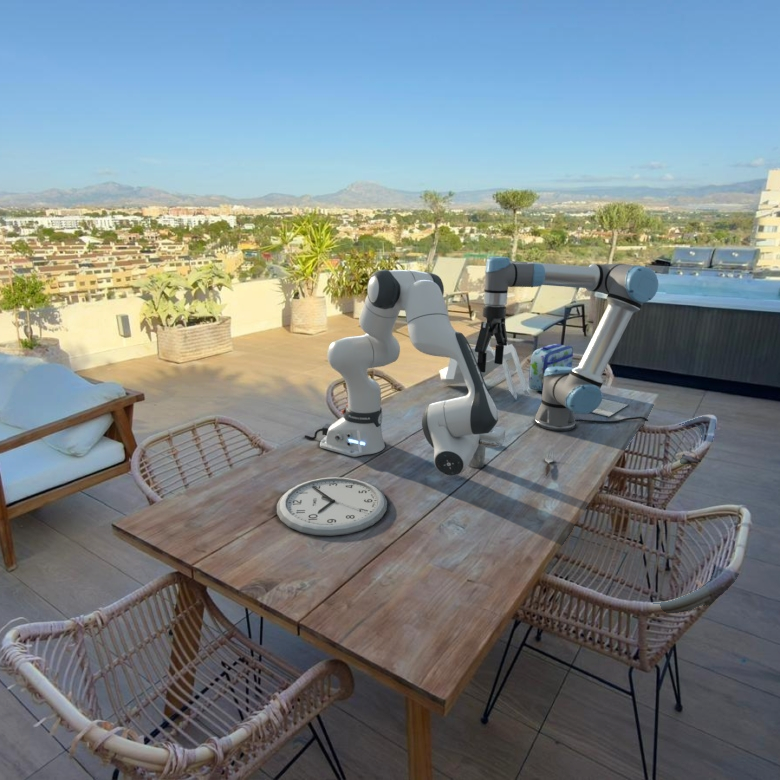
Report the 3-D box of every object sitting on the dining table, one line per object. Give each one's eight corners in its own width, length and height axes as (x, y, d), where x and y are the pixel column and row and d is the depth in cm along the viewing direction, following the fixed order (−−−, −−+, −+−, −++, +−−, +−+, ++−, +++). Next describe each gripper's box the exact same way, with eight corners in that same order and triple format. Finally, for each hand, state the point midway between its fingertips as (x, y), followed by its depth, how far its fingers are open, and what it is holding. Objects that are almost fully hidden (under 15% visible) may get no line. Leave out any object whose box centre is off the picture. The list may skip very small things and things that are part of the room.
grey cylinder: (479, 460, 172) (482, 412, 167) (486, 466, 168) (490, 417, 163) (466, 462, 170) (469, 414, 165) (474, 468, 166) (477, 419, 161)
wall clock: (392, 527, 129) (268, 531, 127) (391, 533, 130) (269, 537, 127) (383, 473, 158) (282, 475, 155) (383, 478, 158) (282, 480, 156)
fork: (541, 476, 161) (542, 470, 161) (545, 456, 176) (546, 450, 175) (550, 477, 161) (551, 471, 160) (553, 457, 175) (554, 451, 174)
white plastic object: (461, 429, 252) (437, 405, 227) (444, 352, 274) (420, 323, 250) (535, 404, 240) (518, 377, 215) (510, 326, 262) (492, 293, 237)
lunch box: (545, 396, 239) (550, 351, 232) (524, 391, 246) (528, 347, 240) (572, 385, 256) (577, 343, 250) (552, 380, 263) (557, 339, 257)
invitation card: (608, 416, 214) (573, 407, 224) (608, 416, 214) (573, 408, 224) (628, 404, 229) (594, 396, 238) (628, 405, 229) (594, 397, 238)
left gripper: (502, 434, 135) (509, 417, 148) (426, 423, 142) (439, 407, 154) (500, 457, 137) (507, 438, 150) (425, 445, 143) (438, 427, 156)
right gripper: (500, 300, 184) (495, 359, 190) (466, 308, 164) (462, 373, 171) (520, 302, 180) (514, 362, 186) (488, 310, 160) (483, 377, 167)
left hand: (472, 422), depth 152 cm, fingers open, 8 cm apart
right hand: (489, 367), depth 178 cm, fingers open, 13 cm apart
